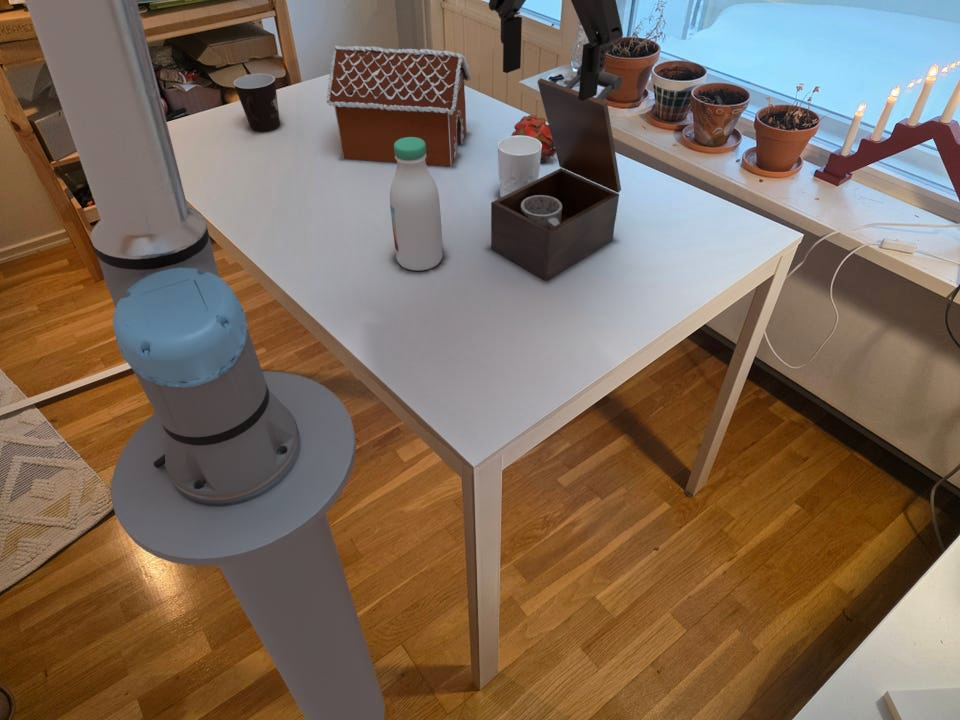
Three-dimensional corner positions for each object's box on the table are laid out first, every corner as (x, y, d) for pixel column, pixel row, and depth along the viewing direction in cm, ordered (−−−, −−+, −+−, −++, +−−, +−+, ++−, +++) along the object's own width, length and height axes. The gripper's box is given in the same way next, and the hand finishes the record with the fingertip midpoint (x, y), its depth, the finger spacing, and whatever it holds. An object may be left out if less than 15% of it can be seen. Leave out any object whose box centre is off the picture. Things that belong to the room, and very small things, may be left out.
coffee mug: (262, 115, 150) (252, 71, 143) (292, 122, 147) (283, 77, 140) (228, 135, 142) (215, 89, 135) (259, 142, 140) (247, 96, 133)
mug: (512, 236, 110) (513, 201, 106) (546, 226, 112) (548, 191, 108) (542, 266, 104) (545, 230, 99) (577, 255, 106) (581, 219, 101)
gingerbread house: (457, 171, 129) (453, 67, 115) (333, 161, 133) (315, 60, 119) (474, 131, 142) (472, 34, 129) (361, 124, 146) (347, 28, 132)
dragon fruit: (516, 150, 139) (553, 178, 133) (493, 137, 132) (531, 167, 126) (538, 114, 136) (577, 141, 130) (516, 99, 129) (556, 128, 123)
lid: (603, 105, 89) (636, 71, 91) (537, 81, 96) (568, 50, 98) (618, 193, 104) (646, 163, 105) (559, 166, 111) (586, 138, 112)
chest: (546, 281, 102) (549, 233, 96) (491, 249, 109) (491, 202, 103) (612, 240, 110) (619, 194, 104) (557, 213, 117) (560, 167, 111)
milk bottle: (452, 254, 108) (446, 138, 94) (424, 277, 103) (414, 159, 89) (415, 240, 111) (405, 127, 97) (386, 262, 106) (371, 146, 93)
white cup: (547, 195, 122) (551, 144, 115) (518, 211, 118) (520, 159, 111) (517, 181, 126) (518, 131, 119) (488, 195, 122) (488, 145, 115)
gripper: (674, -105, 67) (641, 101, 81) (504, -127, 80) (502, 53, 95) (629, -96, 63) (603, 118, 78) (459, -121, 76) (464, 66, 91)
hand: (547, 83), depth 86 cm, fingers open, 13 cm apart
